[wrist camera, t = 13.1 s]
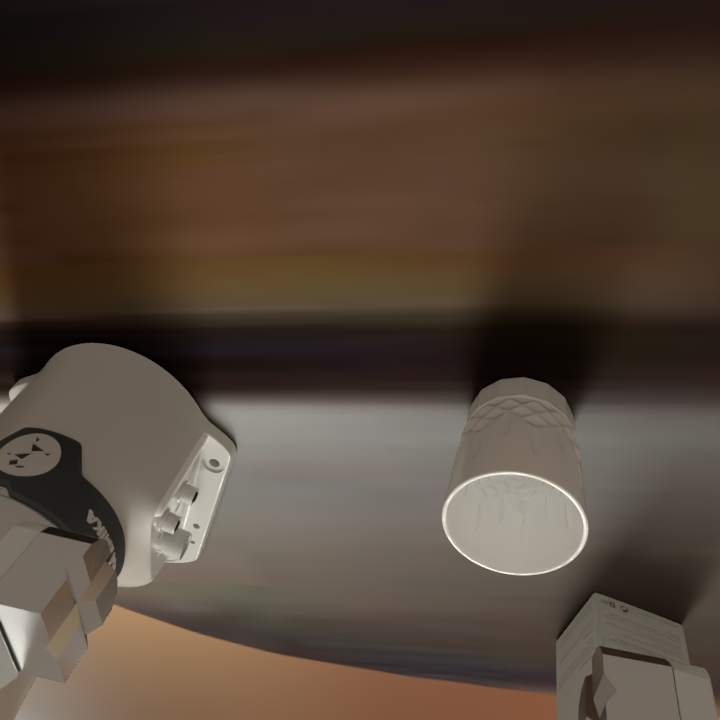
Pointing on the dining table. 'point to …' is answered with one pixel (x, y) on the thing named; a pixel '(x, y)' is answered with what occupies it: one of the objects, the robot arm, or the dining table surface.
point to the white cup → (517, 481)
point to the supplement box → (610, 644)
